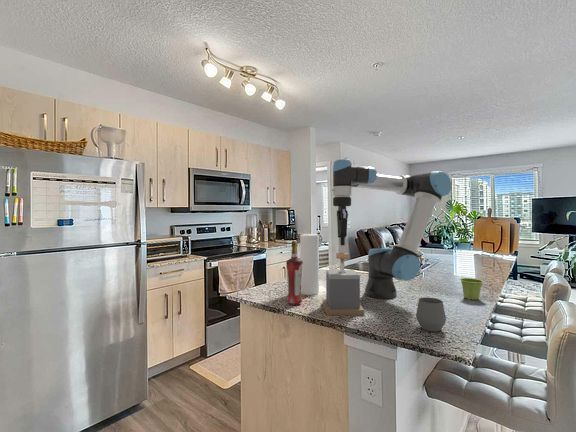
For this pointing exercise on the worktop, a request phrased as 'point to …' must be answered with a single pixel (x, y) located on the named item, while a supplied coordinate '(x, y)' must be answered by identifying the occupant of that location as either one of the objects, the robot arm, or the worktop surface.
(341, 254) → the plunger
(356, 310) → the press
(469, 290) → the plant pot
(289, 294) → the liquor
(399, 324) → the worktop surface
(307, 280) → the cylinder container
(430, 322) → the cup
